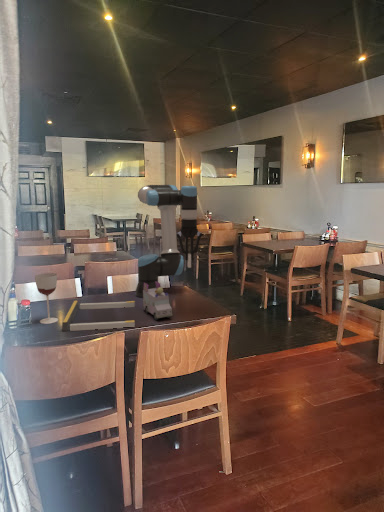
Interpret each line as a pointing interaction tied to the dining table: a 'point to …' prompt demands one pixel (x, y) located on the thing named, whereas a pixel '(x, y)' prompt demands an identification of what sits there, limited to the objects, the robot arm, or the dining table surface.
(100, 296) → the dining table surface
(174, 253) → the robot arm
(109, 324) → the dock
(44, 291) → the wineglass
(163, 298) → the toy vehicle
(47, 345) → the dining table surface
